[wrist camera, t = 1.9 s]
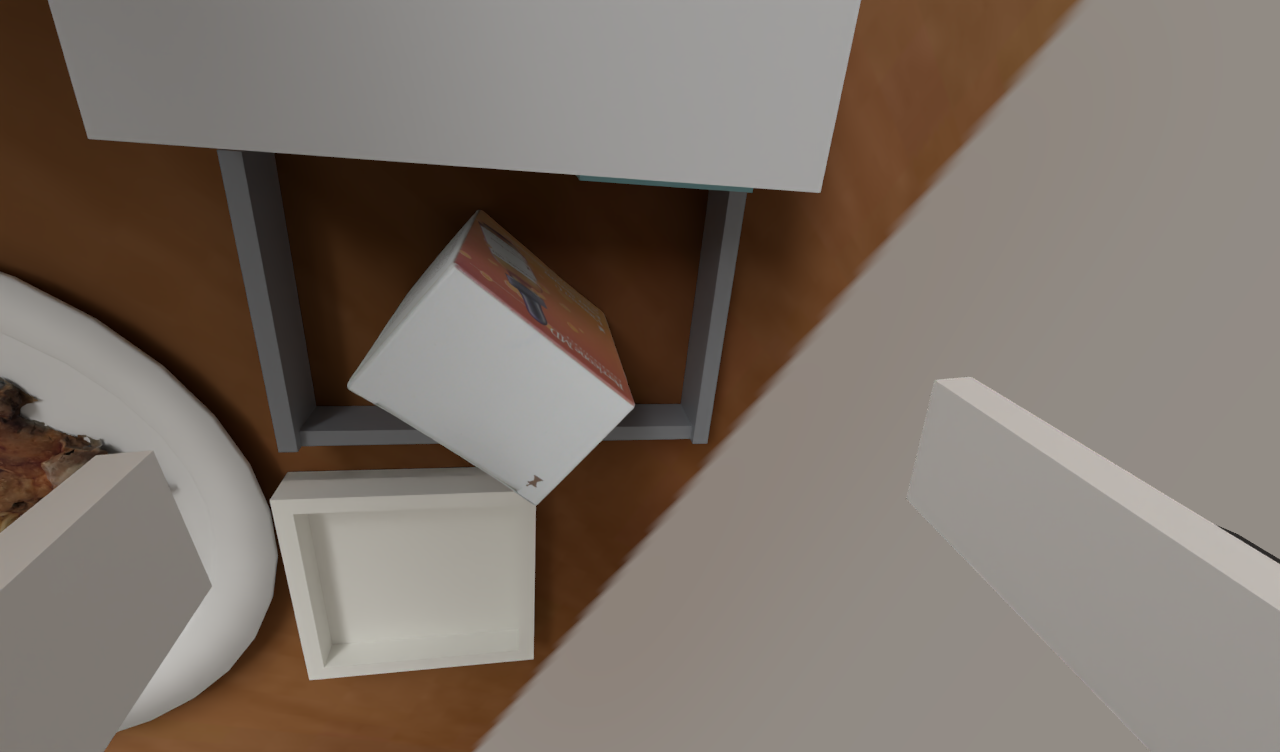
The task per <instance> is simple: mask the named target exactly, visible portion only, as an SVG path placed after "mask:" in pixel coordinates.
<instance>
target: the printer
mask: <svg viewBox="0 0 1280 752" xmlns="http://www.w3.org/2000/svg"><path fill="white" fill-rule="evenodd" d="M48 2H49V6H50V9H51V13H52V16H53V19H54V23H55V26H56V30H57V33H58V37H59V40H60V44H61V47H62V50H63V54H64V57H65V61H66V64H67V68H68V71H69V75H70V78H71V82H72V85H73V88H74V92H75V95H76V99H77V102H78V106H79V109H80V113H81V116H82V120H83V123H84V126H85V130H86V133H87V137H88V139H96V140H110V141H124V142H137V143H151V144H164V145H178V146H191V147H205V148H219V150H217V153H218V158H219V163H220V168H221V173H222V178H223V183H224V188H225V192H226V197H227V202H228V207H229V212H230V217H231V222H232V227H233V232H234V236H235V241H236V246H237V251H238V256H239V261H240V266H241V271H242V275H243V280H244V285H245V290H246V295H247V300H248V305H249V310H250V315H251V319H252V324H253V329H254V334H255V339H256V344H257V349H258V354H259V359H260V363H261V368H262V373H263V378H264V383H265V388H266V393H267V398H268V403H269V407H270V412H271V417H272V422H273V427H274V432H275V437H276V442H277V446H278V451H279V452H298V451H299V449H300V448H301V446H337V445H390V444H439V443H438V442H436V441H435V440H433V439H432V438H430V437H428V436H427V435H425V434H423V433H422V432H420V431H418V430H417V429H415V428H413V427H412V426H410V425H409V424H407V423H405V422H404V421H402V420H401V419H399V418H397V417H396V416H394V415H392V414H391V413H389V412H387V411H386V410H384V409H382V408H380V407H379V406H316V401H315V395H314V389H313V383H312V377H311V371H310V365H309V359H308V353H307V347H306V341H305V335H304V329H303V323H302V317H301V311H300V305H299V299H298V293H297V287H296V281H295V275H294V269H293V263H292V257H291V251H290V245H289V239H288V233H287V227H286V221H285V215H284V209H283V203H282V196H281V190H280V184H279V178H278V172H277V166H276V160H275V154H274V153H286V154H300V155H314V156H327V157H341V158H354V159H368V160H381V161H395V162H408V163H422V164H436V165H449V166H463V167H476V168H490V169H503V170H517V171H531V172H544V173H558V174H571V175H576V176H577V177H578V179H579V180H582V181H596V182H609V183H623V184H637V185H651V186H665V187H679V188H693V189H707V190H709V194H708V201H707V209H706V216H705V224H704V231H703V239H702V247H701V254H700V262H699V269H698V277H697V285H696V292H695V300H694V307H693V315H692V322H691V330H690V338H689V345H688V353H687V360H686V368H685V375H684V383H683V391H682V398H681V404H635V407H634V408H633V410H632V411H630V412H629V413H628V414H627V415H626V416H625V417H624V419H623V420H622V421H621V422H620V423H619V424H618V425H617V426H616V427H615V428H614V429H613V430H612V431H611V432H610V433H609V434H608V435H607V436H606V437H605V438H604V439H603V440H655V439H691V441H692V443H693V444H705V443H707V441H708V435H709V429H710V422H711V416H712V410H713V404H714V397H715V391H716V385H717V378H718V372H719V366H720V360H721V353H722V347H723V341H724V334H725V328H726V322H727V315H728V309H729V303H730V297H731V290H732V284H733V278H734V271H735V265H736V259H737V252H738V246H739V240H740V234H741V227H742V221H743V215H744V208H745V202H746V196H747V192H749V193H753V188H761V189H775V190H788V191H802V192H816V193H820V192H821V188H822V183H823V178H824V173H825V169H826V164H827V159H828V154H829V150H830V145H831V140H832V135H833V131H834V126H835V121H836V116H837V111H838V107H839V102H840V97H841V92H842V88H843V83H844V78H845V73H846V69H847V64H848V59H849V54H850V50H851V45H852V40H853V35H854V31H855V26H856V21H857V16H858V11H859V7H860V2H861V0H48Z"/></svg>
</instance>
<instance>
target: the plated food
mask: <svg viewBox="0 0 1280 752" xmlns="http://www.w3.org/2000/svg"><path fill="white" fill-rule="evenodd" d="M151 450H153V451H154V453H155V456H156V458H157V460H158V462H159V465H160V467H161V469H162V472H163V474H164V476H165V479H166V481H167V483H168V485H169V488H170V490H171V492H172V495H173V497H174V499H175V502H176V504H177V506H178V508H179V511H180V513H181V515H182V518H183V520H184V522H185V525H186V527H187V529H188V531H189V534H190V536H191V538H192V541H193V543H194V545H195V548H196V550H197V552H198V554H199V557H200V559H201V561H202V564H203V566H204V568H205V571H206V573H207V575H208V577H209V580H210V582H211V584H212V587H211V589H210V590H209V592H208V593H207V595H206V596H205V598H204V600H203V601H202V603H201V604H200V606H199V607H198V609H197V610H196V612H195V613H194V615H193V616H192V618H191V619H190V621H189V622H188V624H187V625H186V627H185V628H184V630H183V632H182V633H181V635H180V636H179V638H178V639H177V641H176V642H175V644H174V645H173V647H172V648H171V650H170V651H169V653H168V654H167V656H166V657H165V659H164V660H163V662H162V664H161V665H160V667H159V668H158V670H157V671H156V673H155V674H154V676H153V677H152V679H151V680H150V682H149V683H148V685H147V686H146V688H145V689H144V691H143V692H142V694H141V696H140V697H139V699H138V700H137V702H136V703H135V705H134V706H133V708H132V709H131V711H130V712H129V714H128V715H127V717H126V718H125V720H124V721H123V723H122V724H121V726H120V728H119V729H118V731H121V730H124V729H127V728H130V727H133V726H136V725H139V724H142V723H145V722H148V721H151V720H153V719H155V718H157V717H159V716H161V715H163V714H164V713H166V712H168V711H170V710H172V709H174V708H176V707H178V706H180V705H182V704H184V703H186V702H187V701H189V700H191V699H193V698H195V697H196V696H197V695H199V694H200V693H201V692H202V691H204V690H205V689H206V688H207V687H209V686H210V685H211V684H213V683H214V682H215V681H216V680H218V679H219V678H220V677H221V676H223V675H224V674H225V673H226V672H228V671H229V670H230V669H231V667H232V666H233V665H234V664H235V662H236V661H237V660H238V659H239V657H240V656H241V655H242V654H243V652H244V651H245V650H246V649H247V647H248V646H249V645H250V644H251V642H252V641H253V640H254V639H255V637H256V635H257V633H258V630H259V628H260V626H261V623H262V621H263V619H264V616H265V614H266V612H267V610H268V607H269V605H270V603H271V600H272V598H273V594H274V585H275V577H276V569H277V560H278V552H277V546H276V540H275V534H274V528H273V522H272V516H271V511H270V508H269V506H268V504H267V501H266V499H265V497H264V495H263V492H262V490H261V488H260V486H259V483H258V481H257V479H256V476H255V474H254V472H253V470H252V467H251V465H250V463H249V462H248V460H247V459H246V458H245V456H244V455H243V454H242V452H241V451H240V449H239V448H238V447H237V445H236V444H235V442H234V441H233V440H232V438H231V437H230V436H229V434H228V433H227V431H226V430H225V429H224V427H223V426H222V424H221V423H220V422H219V420H218V419H217V418H216V416H215V415H214V414H213V413H212V412H211V411H210V410H209V409H208V408H207V407H206V406H205V405H204V404H203V403H202V402H201V401H200V400H199V399H197V398H196V397H195V396H194V395H193V394H192V393H191V392H190V391H189V390H188V389H187V388H186V387H185V386H184V385H183V384H182V383H181V382H180V381H179V380H178V379H177V378H176V377H175V376H174V375H173V374H172V373H170V372H169V371H168V370H167V369H166V368H165V367H164V366H163V365H162V364H160V363H159V362H157V361H156V360H155V359H153V358H152V357H150V356H149V355H147V354H146V353H145V352H143V351H142V350H140V349H139V348H137V347H136V346H135V345H133V344H132V343H130V342H129V341H128V340H126V339H125V338H123V337H122V336H120V335H119V334H118V333H116V332H115V331H113V330H112V329H110V328H109V327H108V326H106V325H105V324H103V323H102V322H101V321H99V320H98V319H96V318H94V317H92V316H90V315H88V314H86V313H84V312H83V311H81V310H79V309H77V308H75V307H73V306H71V305H69V304H67V303H65V302H63V301H61V300H59V299H57V298H55V297H53V296H51V295H50V294H48V293H46V292H44V291H42V290H40V289H38V288H36V287H34V286H32V285H30V284H28V283H26V282H24V281H22V280H20V279H18V278H17V277H15V276H12V275H9V274H6V273H4V272H1V271H0V533H1V532H2V531H3V530H4V529H6V528H7V527H8V526H9V525H11V524H12V523H13V522H14V521H15V520H17V519H18V518H19V517H20V516H22V515H23V514H24V513H25V512H27V511H28V510H29V509H30V508H32V507H33V506H34V505H35V504H37V503H38V502H39V501H40V500H41V499H43V498H44V497H45V496H46V495H48V494H49V493H50V492H51V491H53V490H54V489H55V488H56V487H58V486H59V485H60V484H61V483H62V482H64V481H65V480H66V479H67V478H69V477H70V476H71V475H72V474H74V473H75V472H76V471H77V470H79V469H80V468H81V467H82V466H83V465H85V464H86V463H87V462H88V461H90V460H91V459H92V458H93V457H95V456H96V455H106V454H118V453H129V452H140V451H151ZM118 731H117V732H118Z"/></svg>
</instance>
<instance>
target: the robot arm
mask: <svg viewBox="0 0 1280 752" xmlns="http://www.w3.org/2000/svg"><path fill="white" fill-rule="evenodd" d="M906 499H907V500H908V502H909V503H910V504H911V505H912V506H914V508H915V509H916V510H917V511H918V512H919V513H920V514H921V515H922V516H923V517H924V518H925V519H926V520H927V521H928V522H929V523H930V524H931V525H932V526H933V527H934V528H935V529H936V530H937V532H939V534H940V535H942V537H943V538H944V539H945V540H946V541H947V542H948V543H949V544H950V545H951V546H952V547H953V548H954V549H955V550H956V551H957V552H958V553H959V554H960V555H961V556H962V557H963V558H964V559H965V560H966V561H967V562H968V564H970V566H971V567H972V568H973V569H974V570H975V571H976V572H977V573H978V574H979V575H980V576H981V577H982V578H983V579H984V580H985V581H986V582H987V583H988V584H989V585H990V586H991V587H992V588H993V589H994V590H995V591H996V592H997V593H998V594H999V595H1000V597H1001V598H1002V599H1004V601H1005V602H1006V603H1008V605H1009V606H1010V607H1011V608H1012V609H1013V610H1014V611H1015V612H1016V613H1017V614H1018V615H1019V616H1020V617H1021V618H1022V619H1023V620H1024V621H1025V622H1026V623H1027V624H1028V625H1029V627H1030V628H1031V629H1032V630H1033V631H1034V632H1035V633H1036V634H1037V635H1038V636H1039V637H1040V638H1041V639H1042V640H1043V641H1044V642H1045V643H1046V644H1047V645H1048V646H1049V647H1050V648H1051V649H1052V650H1053V651H1054V652H1055V653H1056V654H1057V655H1058V657H1059V658H1060V659H1062V661H1063V662H1064V663H1065V664H1066V665H1067V666H1068V667H1069V668H1071V670H1072V671H1073V672H1074V673H1075V674H1076V675H1077V676H1078V677H1079V678H1080V679H1081V680H1082V681H1083V682H1084V683H1085V684H1086V685H1087V686H1088V687H1089V688H1090V690H1091V691H1092V692H1093V693H1094V694H1096V695H1097V697H1098V698H1099V699H1100V700H1101V701H1102V702H1103V703H1104V704H1105V705H1106V706H1107V707H1108V708H1109V709H1110V710H1111V711H1112V712H1113V713H1114V714H1115V715H1116V716H1117V717H1118V718H1119V719H1120V720H1121V722H1123V724H1124V725H1125V726H1126V727H1127V728H1128V729H1129V730H1130V731H1131V732H1132V733H1133V734H1134V735H1135V736H1136V737H1137V738H1138V739H1139V740H1140V741H1141V742H1142V743H1143V744H1144V745H1145V746H1146V747H1147V748H1148V749H1149V750H1150V752H1280V559H1278V558H1276V557H1275V556H1273V555H1271V554H1270V553H1268V552H1266V551H1264V550H1263V549H1261V548H1260V547H1258V546H1256V545H1255V544H1253V543H1251V542H1250V541H1248V540H1246V539H1245V538H1243V537H1242V536H1240V535H1238V534H1236V533H1234V532H1231V531H1229V530H1227V529H1224V528H1222V527H1220V526H1217V525H1215V524H1213V523H1211V522H1210V521H1208V520H1206V519H1205V518H1203V517H1201V516H1200V515H1198V514H1196V513H1195V512H1193V511H1191V510H1190V509H1188V508H1187V507H1185V506H1183V505H1181V504H1180V503H1178V502H1177V501H1175V500H1173V499H1172V498H1170V497H1168V496H1167V495H1165V494H1163V493H1162V492H1160V491H1159V490H1157V489H1155V488H1154V487H1152V486H1150V485H1148V484H1147V483H1145V482H1144V481H1142V480H1140V479H1139V478H1137V477H1135V476H1134V475H1132V474H1131V473H1129V472H1127V471H1126V470H1124V469H1122V468H1121V467H1118V466H1117V465H1116V464H1114V463H1112V462H1111V461H1109V460H1107V459H1106V458H1104V457H1103V456H1101V455H1099V454H1098V453H1096V452H1094V451H1093V450H1091V449H1089V448H1087V447H1086V446H1084V445H1083V444H1081V443H1079V442H1078V441H1076V440H1074V439H1073V438H1071V437H1069V436H1068V435H1066V434H1065V433H1063V432H1061V431H1059V430H1058V429H1056V428H1055V427H1053V426H1051V425H1050V424H1048V423H1046V422H1045V421H1043V420H1041V419H1040V418H1038V417H1037V416H1035V415H1033V414H1031V413H1030V412H1028V411H1027V410H1025V409H1023V408H1022V407H1020V406H1018V405H1017V404H1015V403H1014V402H1012V401H1010V400H1008V399H1007V398H1005V397H1004V396H1002V395H1000V394H998V393H997V392H995V391H994V390H992V389H990V388H989V387H987V386H985V385H984V384H982V383H981V382H979V381H977V380H976V379H974V378H972V377H963V378H952V379H940V380H935V381H934V385H933V389H932V393H931V398H930V402H929V406H928V410H927V414H926V419H925V423H924V427H923V431H922V435H921V440H920V444H919V448H918V452H917V456H916V460H915V465H914V469H913V473H912V477H911V481H910V485H909V490H908V494H907V498H906ZM211 587H212V584H211V582H210V580H209V577H208V575H207V573H206V571H205V568H204V566H203V564H202V561H201V559H200V557H199V554H198V552H197V550H196V548H195V545H194V543H193V541H192V538H191V536H190V534H189V531H188V529H187V527H186V525H185V522H184V520H183V518H182V515H181V513H180V511H179V508H178V506H177V504H176V502H175V499H174V497H173V495H172V492H171V490H170V488H169V485H168V483H167V481H166V479H165V476H164V474H163V472H162V469H161V467H160V465H159V462H158V460H157V458H156V456H155V453H154V451H153V450H151V451H140V452H129V453H118V454H106V455H96V456H95V457H93V458H92V459H91V460H90V461H88V462H87V463H86V464H85V465H83V466H82V467H81V468H80V469H79V470H77V471H76V472H75V473H74V474H72V475H71V476H70V477H69V478H67V479H66V480H65V481H64V482H62V483H61V484H60V485H59V486H58V487H56V488H55V489H54V490H53V491H51V492H50V493H49V494H48V495H46V496H45V497H44V498H43V499H41V500H40V501H39V502H38V503H37V504H35V505H34V506H33V507H32V508H30V509H29V510H28V511H27V512H25V513H24V514H23V515H22V516H20V517H19V518H18V519H17V520H15V521H14V522H13V523H12V524H11V525H9V526H8V527H7V528H6V529H4V530H3V531H2V532H1V533H0V752H104V750H105V749H106V747H107V746H108V744H109V743H110V741H111V740H112V738H113V737H114V735H115V734H116V732H117V731H118V729H119V728H120V726H121V724H122V723H123V721H124V720H125V718H126V717H127V715H128V714H129V712H130V711H131V709H132V708H133V706H134V705H135V703H136V702H137V700H138V699H139V697H140V696H141V694H142V692H143V691H144V689H145V688H146V686H147V685H148V683H149V682H150V680H151V679H152V677H153V676H154V674H155V673H156V671H157V670H158V668H159V667H160V665H161V664H162V662H163V660H164V659H165V657H166V656H167V654H168V653H169V651H170V650H171V648H172V647H173V645H174V644H175V642H176V641H177V639H178V638H179V636H180V635H181V633H182V632H183V630H184V628H185V627H186V625H187V624H188V622H189V621H190V619H191V618H192V616H193V615H194V613H195V612H196V610H197V609H198V607H199V606H200V604H201V603H202V601H203V600H204V598H205V596H206V595H207V593H208V592H209V590H210V589H211Z"/></svg>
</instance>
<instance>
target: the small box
mask: <svg viewBox="0 0 1280 752" xmlns="http://www.w3.org/2000/svg"><path fill="white" fill-rule="evenodd" d="M347 387H348V389H349V390H350V391H352V392H353V393H355V394H357V395H359V396H361V397H363V398H364V399H366V400H368V401H370V402H371V403H373V404H375V405H377V406H379V407H380V408H382V409H384V410H386V411H387V412H389V413H391V414H392V415H394V416H396V417H397V418H399V419H401V420H402V421H404V422H405V423H407V424H409V425H410V426H412V427H413V428H415V429H417V430H418V431H420V432H422V433H423V434H425V435H427V436H428V437H430V438H432V439H433V440H435V441H436V442H438V443H439V444H441V445H443V446H444V447H446V448H447V449H449V450H451V451H452V452H454V453H455V454H457V455H459V456H460V457H462V458H463V459H465V460H467V461H468V462H470V463H471V464H473V465H475V466H476V467H478V468H479V469H481V470H482V471H484V472H486V473H487V474H489V475H490V476H492V477H493V478H495V479H496V480H498V481H500V482H501V483H503V484H504V485H506V486H507V487H509V488H510V489H512V490H513V491H514V492H515V493H517V494H518V495H520V496H521V497H523V498H524V499H525V500H527V501H528V502H530V503H531V504H533V505H535V506H536V505H538V504H539V503H540V502H541V501H542V500H543V499H544V498H545V497H546V496H547V495H548V494H549V493H550V492H551V491H552V490H553V489H554V488H555V487H556V486H557V485H558V484H559V483H560V482H561V481H562V480H563V479H564V478H565V477H566V476H567V475H568V474H569V473H570V472H571V471H572V470H573V469H574V468H575V467H576V466H577V465H578V464H579V463H580V462H581V461H582V460H583V459H584V458H585V457H586V456H587V455H588V454H589V453H590V452H591V451H592V450H593V449H594V448H595V447H596V446H597V445H598V444H599V443H600V442H601V441H602V440H603V439H604V438H605V437H606V436H607V435H608V434H609V433H610V432H611V431H612V430H613V429H614V428H615V427H616V426H617V425H618V424H619V423H620V422H621V421H622V420H623V419H624V417H625V416H626V415H627V414H628V413H629V412H630V411H632V410H633V408H634V407H635V403H634V400H633V397H632V394H631V391H630V388H629V386H628V382H627V379H626V376H625V373H624V371H623V368H622V364H621V362H620V359H619V356H618V353H617V350H616V347H615V344H614V341H613V338H612V335H611V332H610V329H609V326H608V323H607V320H606V317H605V315H604V313H603V312H602V311H601V310H600V309H599V308H597V307H596V306H595V305H594V304H592V303H591V302H590V301H589V300H587V299H586V298H585V297H583V296H582V295H581V294H580V293H578V292H577V291H576V290H575V289H574V288H572V287H571V286H570V285H569V284H568V283H566V282H565V281H564V280H563V279H562V278H560V277H559V276H558V275H557V274H556V273H555V272H554V271H552V270H551V269H550V268H549V267H548V266H547V265H545V264H544V263H543V262H542V261H541V260H540V259H539V258H537V257H536V256H535V255H534V254H533V253H532V252H531V251H529V250H528V249H527V248H526V247H525V246H524V245H522V244H521V243H520V242H519V241H518V240H517V239H515V238H514V237H513V236H512V235H511V234H509V233H508V232H507V231H506V230H505V229H504V228H502V227H501V226H500V225H499V224H498V223H497V222H496V221H494V220H493V219H492V218H491V217H490V216H489V215H488V214H486V213H485V212H484V211H482V210H477V211H476V212H475V213H474V215H473V216H472V217H471V218H470V219H469V220H468V221H467V222H466V224H465V225H464V226H463V227H462V228H461V229H460V230H459V232H458V233H457V234H456V235H455V236H454V237H453V239H452V240H451V241H450V242H449V243H448V244H447V246H446V247H445V248H444V249H443V250H442V252H441V253H440V254H439V255H438V256H437V258H436V259H435V260H434V261H433V262H432V264H431V265H430V266H429V267H428V269H427V270H426V271H425V272H424V274H423V275H422V276H421V277H420V278H419V280H418V281H417V282H416V283H415V285H414V286H413V287H412V288H411V290H410V291H409V292H408V293H407V295H406V296H405V298H404V299H403V301H402V302H401V304H400V305H399V307H398V308H397V310H396V311H395V313H394V314H393V316H392V317H391V319H390V320H389V322H388V323H387V325H386V326H385V328H384V329H383V331H382V332H381V334H380V335H379V337H378V339H377V340H376V341H375V343H374V345H373V346H372V347H371V349H370V350H369V352H368V353H367V355H366V357H365V358H364V359H363V361H362V362H361V364H360V365H359V367H358V368H357V370H356V371H355V372H354V374H353V375H352V377H351V378H350V380H349V382H348V384H347Z"/></svg>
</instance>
